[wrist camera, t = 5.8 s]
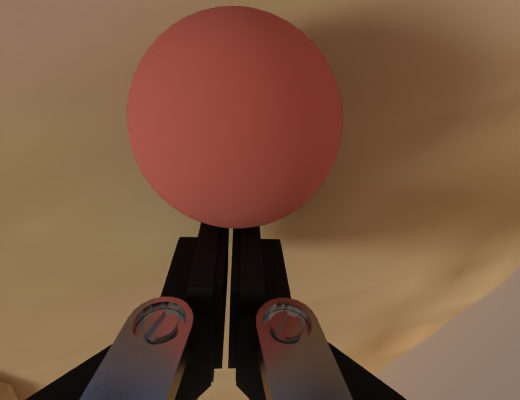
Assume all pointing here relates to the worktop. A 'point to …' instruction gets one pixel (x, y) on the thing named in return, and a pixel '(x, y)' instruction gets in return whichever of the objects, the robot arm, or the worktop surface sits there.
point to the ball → (234, 117)
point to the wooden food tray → (7, 392)
